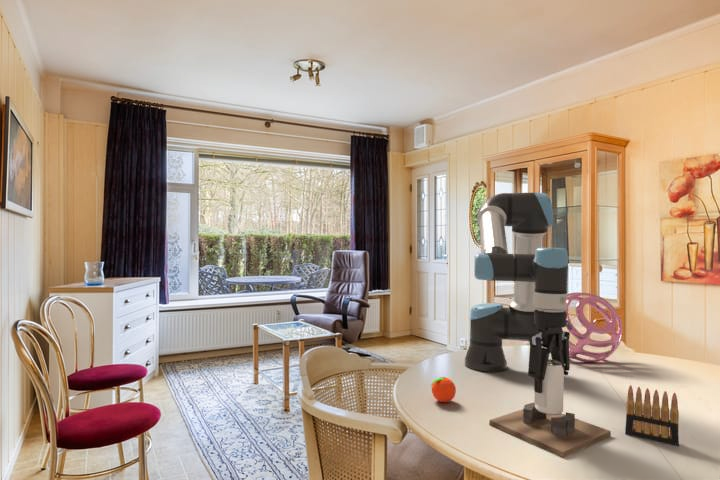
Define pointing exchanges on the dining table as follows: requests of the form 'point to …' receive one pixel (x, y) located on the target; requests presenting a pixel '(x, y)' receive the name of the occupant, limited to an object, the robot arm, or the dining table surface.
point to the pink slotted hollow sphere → (593, 328)
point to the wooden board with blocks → (550, 430)
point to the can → (553, 389)
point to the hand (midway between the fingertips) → (548, 402)
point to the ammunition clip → (652, 417)
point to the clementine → (443, 389)
